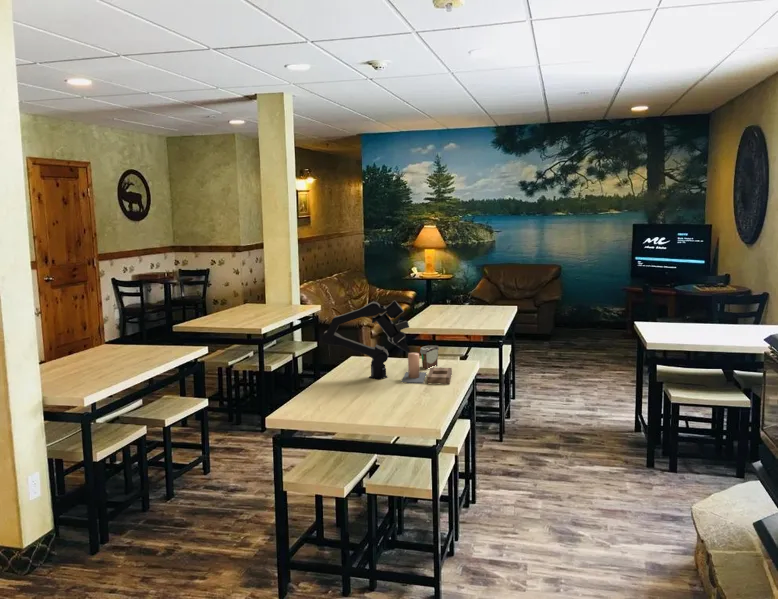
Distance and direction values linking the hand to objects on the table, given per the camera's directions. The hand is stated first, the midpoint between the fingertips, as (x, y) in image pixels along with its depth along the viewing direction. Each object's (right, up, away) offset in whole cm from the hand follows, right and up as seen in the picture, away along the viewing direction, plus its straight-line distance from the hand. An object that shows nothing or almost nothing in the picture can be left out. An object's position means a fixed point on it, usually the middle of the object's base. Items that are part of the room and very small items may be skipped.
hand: (407, 351), depth 308 cm
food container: (+10, -10, +22) cm, 26 cm away
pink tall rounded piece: (+3, -12, 0) cm, 12 cm away
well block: (+15, -13, -2) cm, 20 cm away
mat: (+3, -13, 0) cm, 13 cm away
